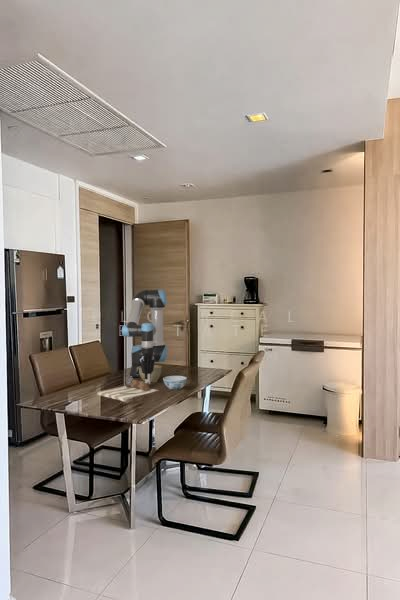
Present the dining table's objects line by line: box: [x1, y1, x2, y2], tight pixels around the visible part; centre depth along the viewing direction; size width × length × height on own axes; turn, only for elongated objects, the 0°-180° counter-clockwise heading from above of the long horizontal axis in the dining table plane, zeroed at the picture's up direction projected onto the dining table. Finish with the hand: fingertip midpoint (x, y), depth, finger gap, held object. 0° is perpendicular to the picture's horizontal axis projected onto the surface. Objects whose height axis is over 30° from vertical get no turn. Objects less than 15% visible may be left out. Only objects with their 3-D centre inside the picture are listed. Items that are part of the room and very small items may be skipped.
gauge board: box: [96, 385, 160, 402], centre depth 254 cm, size 27×27×2 cm
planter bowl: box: [138, 364, 163, 383], centre depth 287 cm, size 16×16×11 cm
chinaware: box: [162, 375, 188, 390], centre depth 262 cm, size 15×15×8 cm
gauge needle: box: [125, 376, 150, 390], centre depth 261 cm, size 19×5×6 cm, turn 51°
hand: (147, 383), depth 264 cm, fingers closed
